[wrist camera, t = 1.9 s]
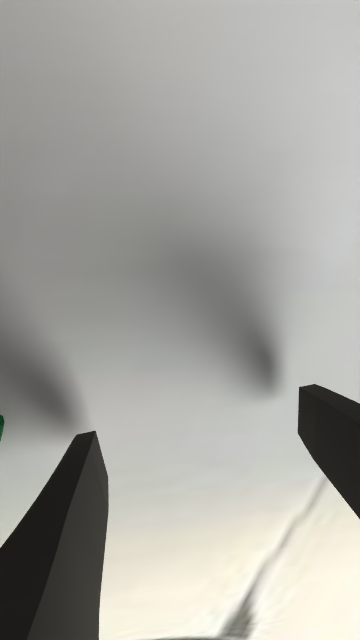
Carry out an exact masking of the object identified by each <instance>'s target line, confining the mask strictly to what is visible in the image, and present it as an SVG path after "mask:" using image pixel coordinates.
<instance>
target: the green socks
mask: <svg viewBox="0 0 360 640" xmlns="http://www.w3.org/2000/svg"><path fill="white" fill-rule="evenodd" d="M3 427H4V418H3V416H2V415H0V441H1V437H2V432H3Z"/></svg>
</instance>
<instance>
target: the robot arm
mask: <svg viewBox="0 0 360 640" xmlns="http://www.w3.org/2000/svg"><path fill="white" fill-rule="evenodd" d="M298 434H299V436H300V438H301V439H302V441H303V443H304V445H305V446H306V448H307V450H308V451H309V453H310V454H311V456H312V458H313V459H314V461H315V462H316V463H317V465H318V466H319V467H320V469H321V470H322V471H323V472H324V474H325V475H326V476H327V478H328V479H329V480H330V482H331V483H332V484H333V485H334V487H335V488H336V489H337V491H338V492H339V493H340V494H341V496H342V497H343V498H344V499H345V501H346V502H347V503H348V505H349V506H350V507H351V508H352V510H353V511H354V512H355V514H356V515H357V516H358V517H359V519H360V404H359V403H357V402H355V401H353V400H351V399H348V398H346V397H344V396H342V395H340V394H337V393H335V392H333V391H331V390H328V389H326V388H324V387H321V386H319V385H316V384H313V385H308V386H303V387H299V411H298ZM107 520H108V475H107V471H106V468H105V464H104V460H103V457H102V453H101V449H100V445H99V442H98V438H97V434H96V431H92V432H87V433H82V434H78V435H76V436H75V438H74V439H73V441H72V442H71V444H70V446H69V448H68V449H67V451H66V453H65V454H64V456H63V458H62V459H61V461H60V463H59V464H58V466H57V468H56V469H55V471H54V473H53V474H52V476H51V477H50V479H49V480H48V482H47V483H46V485H45V487H44V488H43V490H42V491H41V493H40V494H39V496H38V497H37V499H36V500H35V502H34V503H33V504H32V506H31V507H30V509H29V510H28V511H27V513H26V514H25V516H24V517H23V519H22V520H21V521H20V523H19V524H18V526H17V527H16V528H15V530H14V531H13V532H12V534H11V535H10V536H9V538H8V539H7V540H6V541H5V543H4V544H3V545H2V547H1V548H0V640H99V607H100V592H101V582H102V571H103V561H104V551H105V541H106V531H107Z"/></svg>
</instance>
